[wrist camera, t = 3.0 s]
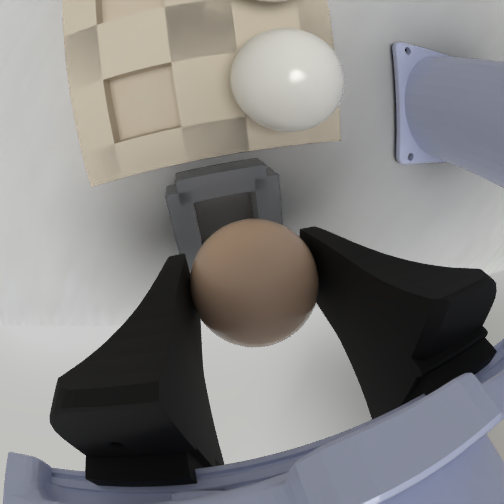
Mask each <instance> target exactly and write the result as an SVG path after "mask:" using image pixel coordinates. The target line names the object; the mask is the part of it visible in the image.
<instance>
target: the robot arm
mask: <svg viewBox="0 0 504 504" xmlns="http://www.w3.org/2000/svg"><path fill="white" fill-rule="evenodd" d="M405 49H406V51H407V54H406V52H405ZM392 50H393V60H394V72H395V87H396V115H397V141H396V159H397V161H398V162H399V163H401V164H404V165H406V164H419V163H435V162H449V163H451V164H454V165H456V166H458V167H461V168H463V169H465V170H468V171H470V172H472V173H474V174H476V175H479V176H481V177H483V178H485V179H487V180H489V181H491V182H493V183H495V184H497V185H499V186H501V187H503V188H504V62H500V61H493V60H484V59H474V58H461V57H451V56H448V55H445V54H442V53H439V52H436V51H432V50H429V49H426V48H422V47H418V46H414V45H410V44H406V43H402V42H396V43H394V44H393V46H392ZM409 154H410V156H409V158H408V155H409ZM300 238H301V239H302V240H303V241H304V242H305V244H306V245H307V247H308V248H309V250H310V251H311V253H312V255H313V257H314V260H315V263H316V265H317V270H318V276H319V289H318V296H317V300H316V303H317V304H318V306H319V307H320V309H321V310H322V312H323V313H324V315H325V317H326V318H327V320H328V321H329V323H330V324H331V326H332V327H333V329H334V330H335V332H336V333H337V335H338V337H339V339H340V341H341V343H342V345H343V347H344V349H345V351H346V353H347V355H348V358H349V360H350V362H351V364H352V367H353V369H354V371H355V374H356V376H357V378H358V381H359V383H360V386H361V389H362V391H363V394H364V397H365V399H366V402H367V405H368V408H369V411H370V414H371V417H372V420H371V421H368V422H366V423H364V424H361V425H359V426H356V427H354V428H352V429H349V430H347V431H344V432H341V433H339V434H336V435H334V436H331V437H328V438H325V439H323V440H319V441H316V442H313V443H310V444H307V445H305V446H301V447H298V448H294V449H291V450H287V451H284V452H280V453H276V454H273V455H268V456H264V457H260V458H256V459H252V460H247V461H242V462H237V463H232V464H226V465H224V461H223V458H222V454H221V450H220V446H219V443H218V439H217V435H216V431H215V426H214V422H213V418H212V414H211V409H210V404H209V399H208V394H207V389H206V384H205V379H204V372H203V360H202V342H201V322H200V317H199V315H198V313H197V311H196V309H195V306H194V304H193V301H192V296H191V291H190V275H191V274H190V271H189V267H188V263H187V260H186V256H185V253H184V254H179V255H175V256H170V257H169V258H168V259H167V261H166V262H165V264H164V266H163V268H162V270H161V271H160V273H159V275H158V277H157V278H156V280H155V282H154V283H153V285H152V287H151V288H150V290H149V291H148V293H147V294H146V296H145V297H144V299H143V300H142V302H141V303H140V305H139V306H138V307H137V309H136V310H135V311H134V312H133V314H132V315H131V316H130V317H129V318H128V320H127V321H126V322H125V323H124V324H123V325H122V326H121V327H120V328H119V329H118V330H117V331H116V332H115V333H114V334H113V335H112V336H111V337H110V338H109V339H108V340H107V341H106V342H105V343H104V344H103V345H102V346H101V347H100V348H99V349H97V350H96V351H95V352H94V353H92V354H91V355H90V356H89V357H88V358H86V359H85V360H84V361H82V362H81V363H80V364H78V365H77V366H75V367H74V368H72V369H71V370H70V371H68V372H67V373H66V374H64V375H63V376H61V377H59V378H58V381H57V385H56V389H55V393H54V398H53V403H52V407H51V412H50V423H51V425H52V427H53V429H54V430H55V431H56V432H57V433H58V434H59V435H60V436H61V437H62V438H63V439H64V440H66V441H67V442H68V443H70V444H71V445H72V446H74V447H75V448H76V449H78V450H79V451H80V452H82V453H83V454H85V455H86V470H85V472H84V471H74V470H65V469H57V468H51V467H50V466H49V465H48V464H46V463H45V462H43V461H41V460H40V459H38V458H35V457H32V456H29V455H23V454H18V453H13V452H9V453H8V458H7V466H6V473H5V483H4V496H3V504H504V462H503V460H502V458H501V457H500V455H499V453H498V452H497V450H496V449H495V447H494V445H493V444H492V442H491V441H490V439H489V438H488V436H487V433H488V432H489V431H490V430H492V429H493V428H494V427H495V426H496V425H497V424H498V423H499V422H500V421H501V420H502V419H503V418H504V339H503V340H502V341H500V342H499V343H498V344H497V345H495V346H494V347H493V346H492V345H491V344H490V343H489V342H488V341H487V339H486V338H485V337H486V336H487V333H488V332H487V330H486V329H485V328H484V327H483V324H484V322H485V320H486V317H487V315H488V313H489V311H490V309H491V307H492V304H493V302H494V299H495V296H496V283H495V281H494V280H493V279H492V278H491V277H490V276H488V275H487V274H486V273H485V272H484V271H482V270H481V269H469V268H450V267H442V266H434V265H428V264H422V263H418V262H413V261H408V260H404V259H400V258H397V257H393V256H390V255H386V254H383V253H380V252H377V251H375V250H372V249H369V248H367V247H364V246H361V245H359V244H356V243H354V242H352V241H349V240H347V239H345V238H342V237H340V236H338V235H335V234H333V233H331V232H328V231H326V230H323V229H321V228H318V227H309V228H304V229H300Z"/></svg>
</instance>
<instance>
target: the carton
mask: <svg viewBox="0 0 504 504" xmlns="http://www.w3.org/2000/svg"><path fill="white" fill-rule="evenodd" d="M275 28H296V29H301V30H304V31H307V32H310V33H312V34H314V35H316V36H317V37H319V38H321V39H322V40H323V41H324V42H326V43H327V44H328V45H329V46H330V47H331V48H332V49H333V51H334V45H333V37H332V29H331V22H330V15H329V9H328V3H327V0H288V1H282V2H263V1H257V0H63V29H64V45H65V56H66V66H67V74H68V82H69V89H70V95H71V101H72V107H73V113H74V118H75V123H76V128H77V133H78V137H79V142H80V146H81V151H82V155H83V159H84V163H85V167H86V171H87V174H88V178H89V182H90V185H91V187H93V186H96V185H99V184H103V183H106V182H110V181H113V180H117V179H120V178H124V177H128V176H131V175H135V174H139V173H143V172H147V171H151V170H155V169H160V168H164V167H168V166H173V165H177V164H182V163H187V162H191V161H196V160H201V159H206V158H212V157H217V156H223V155H229V154H234V153H241V152H247V151H253V150H260V149H267V148H275V147H283V146H291V145H300V144H309V143H320V142H332V141H341V135H340V113H339V105H338V107H337V108H336V110H335V111H334V112H333V114H332V115H331V116H330V117H329V118H328V119H326V120H325V121H324V122H322V123H321V124H319V125H317V126H315V127H313V128H311V129H307V130H304V131H298V132H280V131H275V130H271V129H268V128H266V127H263V126H261V125H259V124H258V123H256V122H255V121H253V120H252V119H251V118H249V117H248V116H247V115H246V114H245V113H244V112H243V111H242V110H241V108H240V107H239V105H238V104H237V102H236V100H235V98H234V95H233V92H232V88H231V81H230V75H231V68H232V64H233V61H234V59H235V57H236V55H237V53H238V51H239V50H240V49H241V47H242V46H243V45H244V44H245V43H246V42H247V41H248V40H250V39H251V38H252V37H254V36H256V35H257V34H259V33H262V32H264V31H267V30H270V29H275Z"/></svg>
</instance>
